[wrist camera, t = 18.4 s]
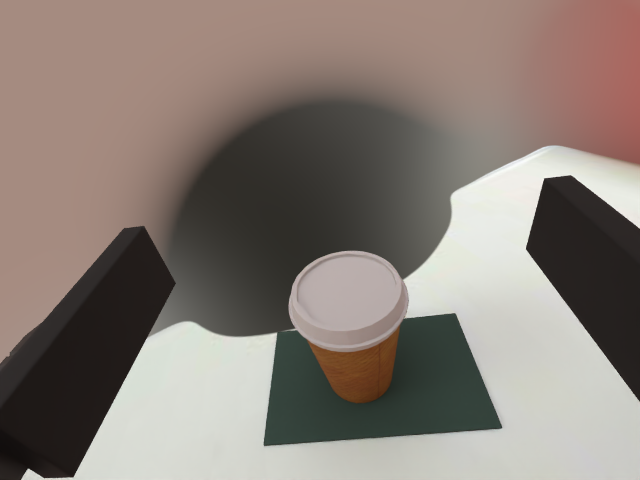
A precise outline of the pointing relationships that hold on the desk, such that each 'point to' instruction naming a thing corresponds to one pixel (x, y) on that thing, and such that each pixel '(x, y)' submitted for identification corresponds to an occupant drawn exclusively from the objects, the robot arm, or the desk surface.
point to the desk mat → (395, 404)
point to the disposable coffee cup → (351, 320)
